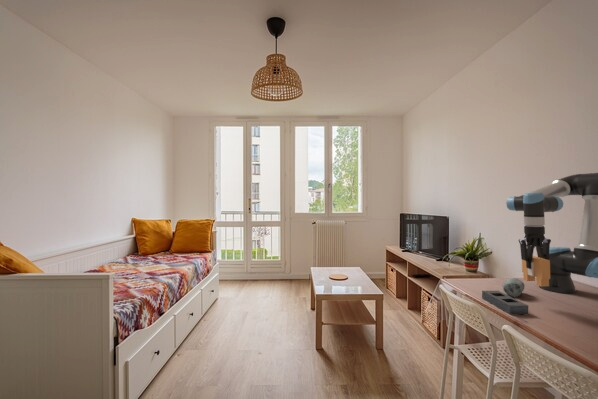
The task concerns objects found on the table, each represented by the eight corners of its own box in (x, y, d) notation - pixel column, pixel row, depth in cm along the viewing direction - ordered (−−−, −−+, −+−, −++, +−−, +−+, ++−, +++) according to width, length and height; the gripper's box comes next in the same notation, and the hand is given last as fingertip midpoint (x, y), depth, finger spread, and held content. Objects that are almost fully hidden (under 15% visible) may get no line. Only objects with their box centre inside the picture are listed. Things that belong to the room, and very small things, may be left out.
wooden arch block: (529, 279, 140) (529, 254, 140) (550, 286, 128) (549, 260, 128) (522, 279, 140) (521, 254, 140) (542, 287, 128) (541, 260, 128)
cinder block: (498, 298, 145) (497, 290, 145) (528, 314, 125) (528, 305, 125) (482, 298, 145) (482, 290, 145) (509, 314, 125) (509, 305, 125)
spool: (525, 294, 141) (514, 274, 146) (504, 298, 147) (495, 279, 152) (532, 294, 149) (522, 276, 154) (512, 299, 155) (503, 281, 160)
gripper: (545, 224, 137) (546, 272, 137) (510, 225, 138) (511, 273, 138) (559, 225, 130) (560, 276, 130) (522, 227, 130) (523, 278, 130)
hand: (535, 275), depth 134 cm, fingers closed on wooden arch block, 3 cm apart
